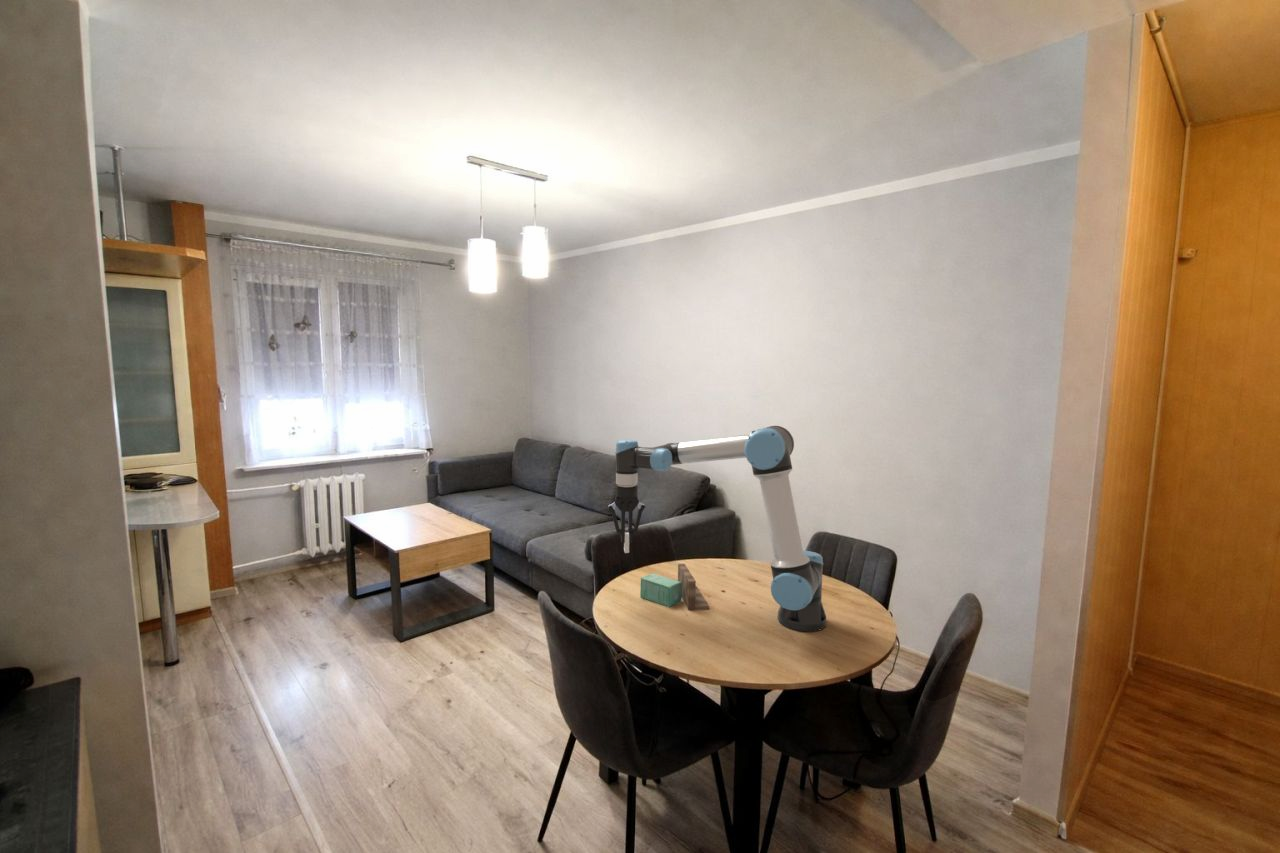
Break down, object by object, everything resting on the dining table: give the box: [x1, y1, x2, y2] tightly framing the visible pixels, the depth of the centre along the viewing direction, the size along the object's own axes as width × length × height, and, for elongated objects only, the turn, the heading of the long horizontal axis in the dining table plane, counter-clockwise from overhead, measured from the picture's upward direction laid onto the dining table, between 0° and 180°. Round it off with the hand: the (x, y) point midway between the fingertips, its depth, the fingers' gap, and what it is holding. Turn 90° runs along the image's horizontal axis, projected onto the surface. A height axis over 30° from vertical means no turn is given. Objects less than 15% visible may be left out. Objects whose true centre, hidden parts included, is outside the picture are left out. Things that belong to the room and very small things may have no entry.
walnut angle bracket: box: [677, 563, 710, 611], centre depth 196 cm, size 18×7×10 cm, turn 8°
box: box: [639, 572, 683, 608], centre depth 196 cm, size 7×14×8 cm, turn 50°
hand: (626, 551), depth 192 cm, fingers closed
